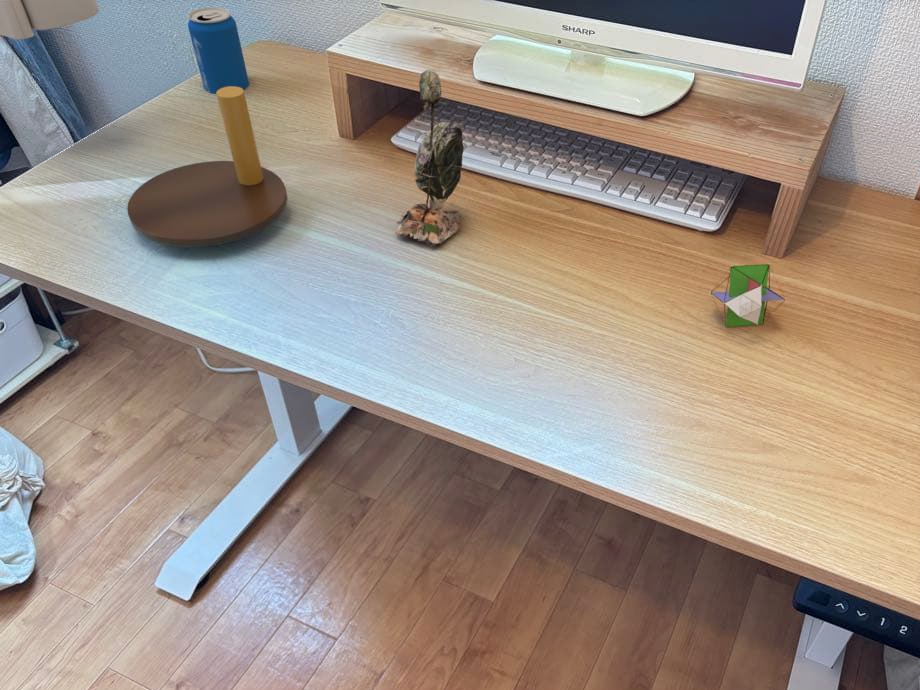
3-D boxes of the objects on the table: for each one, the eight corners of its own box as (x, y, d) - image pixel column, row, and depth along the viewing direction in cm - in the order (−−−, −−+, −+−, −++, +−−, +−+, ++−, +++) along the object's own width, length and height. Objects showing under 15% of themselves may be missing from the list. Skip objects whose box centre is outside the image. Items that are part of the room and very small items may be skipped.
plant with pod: (486, 213, 100) (485, 51, 86) (432, 255, 93) (421, 86, 79) (434, 194, 103) (425, 34, 88) (378, 233, 96) (358, 66, 81)
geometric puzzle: (700, 276, 88) (725, 252, 80) (759, 273, 89) (789, 249, 81) (708, 339, 87) (733, 321, 80) (767, 335, 88) (798, 317, 80)
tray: (100, 205, 94) (61, 107, 86) (231, 153, 104) (207, 61, 96) (185, 266, 86) (151, 165, 78) (318, 204, 96) (301, 108, 88)
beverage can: (198, 97, 120) (176, 13, 111) (236, 85, 123) (217, 3, 115) (222, 111, 117) (201, 26, 108) (260, 98, 120) (242, 15, 112)
